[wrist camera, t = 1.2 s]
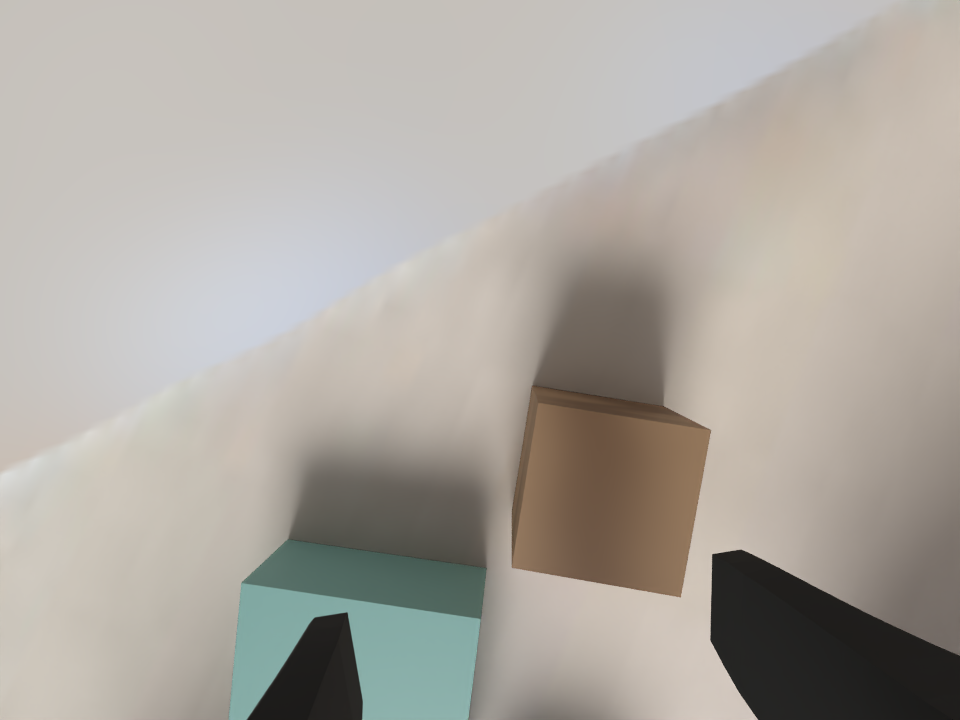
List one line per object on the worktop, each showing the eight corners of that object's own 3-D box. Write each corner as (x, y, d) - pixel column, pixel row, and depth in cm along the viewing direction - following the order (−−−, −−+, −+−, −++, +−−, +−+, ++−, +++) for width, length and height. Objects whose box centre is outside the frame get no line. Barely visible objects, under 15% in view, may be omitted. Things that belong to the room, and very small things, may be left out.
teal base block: (486, 565, 22) (480, 619, 18) (463, 755, 22) (452, 849, 18) (290, 536, 22) (241, 583, 18) (272, 723, 23) (220, 809, 19)
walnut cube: (662, 406, 21) (711, 430, 16) (640, 533, 21) (680, 597, 16) (532, 385, 21) (538, 402, 16) (511, 511, 21) (511, 567, 16)
